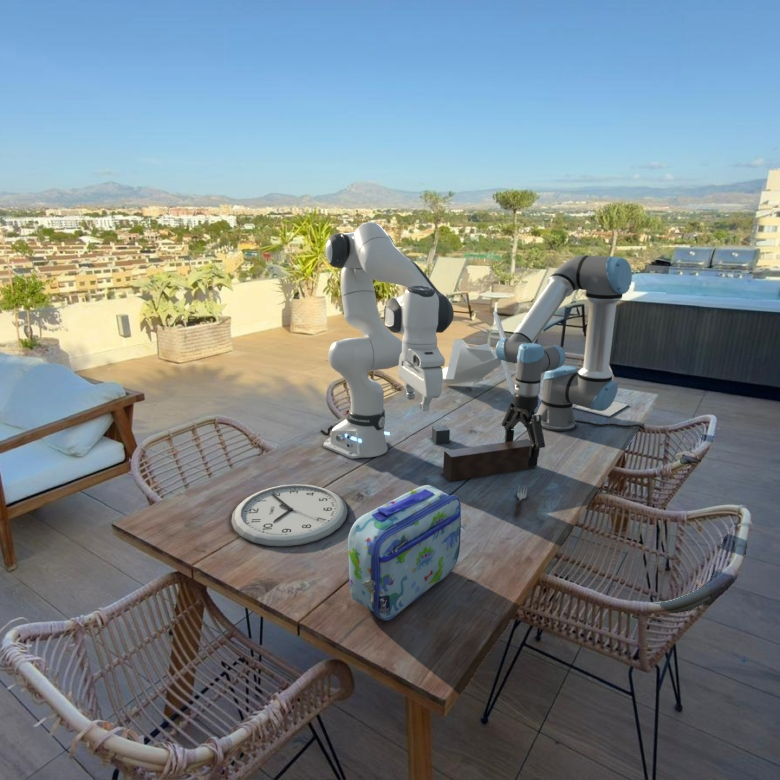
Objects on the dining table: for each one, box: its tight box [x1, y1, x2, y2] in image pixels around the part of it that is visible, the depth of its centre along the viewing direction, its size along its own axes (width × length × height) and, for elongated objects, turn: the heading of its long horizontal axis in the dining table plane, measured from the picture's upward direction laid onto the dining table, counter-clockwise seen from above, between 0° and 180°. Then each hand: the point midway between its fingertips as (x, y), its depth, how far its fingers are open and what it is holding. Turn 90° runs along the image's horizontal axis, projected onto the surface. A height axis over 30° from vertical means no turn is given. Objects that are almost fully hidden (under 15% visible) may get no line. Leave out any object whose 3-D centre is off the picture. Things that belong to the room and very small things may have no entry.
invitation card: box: [573, 400, 629, 418], centre depth 226 cm, size 21×1×15 cm
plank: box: [442, 439, 535, 482], centre depth 163 cm, size 30×5×8 cm, turn 110°
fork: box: [515, 484, 528, 518], centre depth 145 cm, size 3×16×2 cm, turn 160°
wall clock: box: [231, 483, 348, 547], centre depth 138 cm, size 30×2×30 cm
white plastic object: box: [442, 310, 517, 397], centre depth 245 cm, size 37×45×31 cm
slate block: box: [431, 424, 451, 445], centre depth 186 cm, size 5×5×5 cm
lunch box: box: [347, 484, 462, 621], centre depth 107 cm, size 26×11×21 cm, turn 134°
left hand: (417, 404), depth 136 cm, fingers open, 8 cm apart
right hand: (519, 457), depth 167 cm, fingers open, 13 cm apart
